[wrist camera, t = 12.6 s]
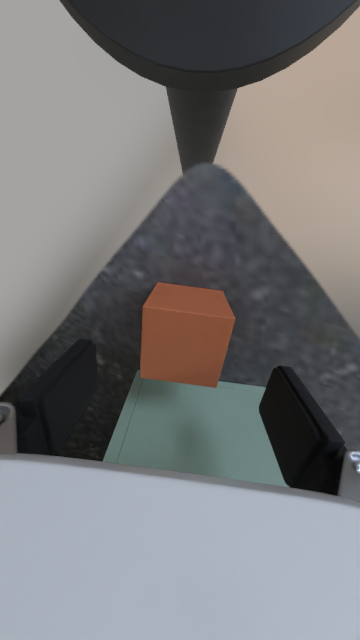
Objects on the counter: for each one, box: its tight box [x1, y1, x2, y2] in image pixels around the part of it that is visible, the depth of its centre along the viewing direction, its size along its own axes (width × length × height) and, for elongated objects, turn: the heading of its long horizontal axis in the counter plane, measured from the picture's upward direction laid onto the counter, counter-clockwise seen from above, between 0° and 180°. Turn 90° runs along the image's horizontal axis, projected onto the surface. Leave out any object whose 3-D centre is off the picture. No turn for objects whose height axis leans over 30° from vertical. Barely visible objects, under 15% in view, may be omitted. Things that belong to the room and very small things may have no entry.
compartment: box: [103, 370, 290, 488], centre depth 18 cm, size 16×14×10 cm
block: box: [140, 282, 235, 388], centre depth 14 cm, size 5×5×5 cm
